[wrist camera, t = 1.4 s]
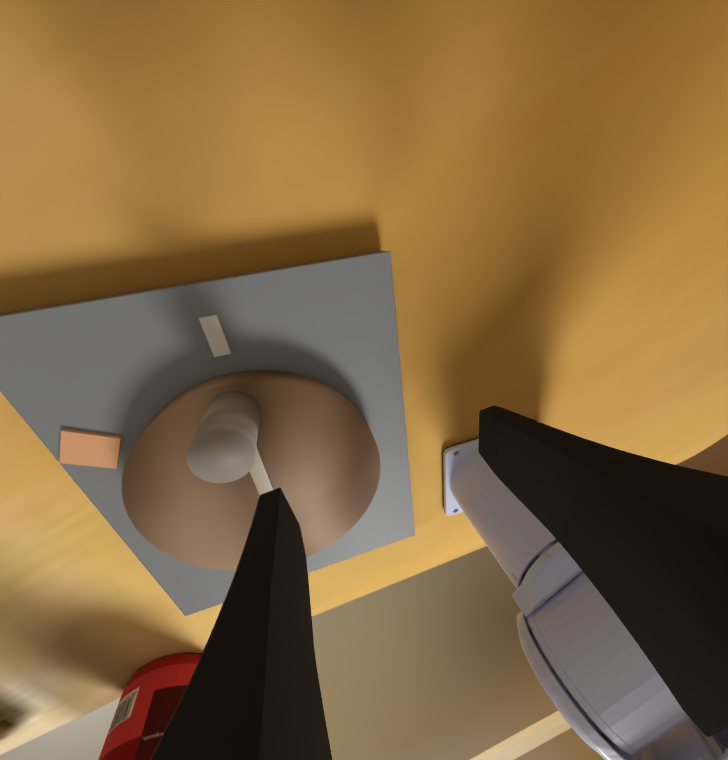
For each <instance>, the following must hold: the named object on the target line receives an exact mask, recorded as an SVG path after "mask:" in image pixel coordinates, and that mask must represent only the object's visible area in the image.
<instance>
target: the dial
mask: <svg viewBox="0 0 728 760" xmlns="http://www.w3.org/2000/svg"><path fill="white" fill-rule="evenodd" d="M380 468H381V467H380V455H379V451H378V447H377V444H376V441H375V439H374V437H373V434H372V432H371V430H370V428H369V426H368V424H367V422H366V420H365V419H364V417H363V416H362V414H361V412H360V411H359V410H358V409H357V408H356V406H355V405H354V404H353V403H352V402H351V401H350V400H349V399H348V398H346V397H345V396H344V395H343V394H342V393H340V392H339V391H337V390H336V389H334V388H332V387H331V386H329V385H327V384H325V383H323V382H321V381H318V380H316V379H313V378H310V377H307V376H304V375H301V374H296V373H290V372H285V371H273V370H254V371H243V372H237V373H231V374H227V375H223V376H220V377H216V378H213V379H210V380H207V381H205V382H203V383H200V384H198V385H196V386H193V387H192V388H190V389H188V390H187V391H185V392H183V393H181V394H180V395H178V396H177V397H176V398H174V399H173V400H172V401H170V402H169V403H168V404H167V405H165V406H164V407H163V408H162V409H161V410H160V411H159V413H158V414H157V415H156V416H155V417H154V418H153V419H152V421H151V422H150V423H149V425H148V426H147V427H146V429H145V430H144V431H143V433H142V434H141V435H140V437H139V438H138V440H137V441H136V443H135V444H134V446H133V447H132V449H131V451H130V453H129V455H128V458H127V460H126V462H125V466H124V470H123V474H122V497H123V502H124V506H125V509H126V511H127V514H128V516H129V518H130V520H131V521H132V523H133V525H134V526H135V528H136V529H137V530H138V531H139V532H140V534H141V535H142V536H143V537H144V538H145V539H146V540H147V541H149V542H150V543H151V544H152V545H153V546H155V547H156V548H157V549H159V550H161V551H162V552H164V553H166V554H167V555H169V556H171V557H174V558H176V559H178V560H180V561H183V562H186V563H189V564H192V565H195V566H199V567H204V568H209V569H216V570H224V571H236V569H237V566H238V563H239V560H240V557H241V554H242V552H243V549H244V546H245V543H246V540H247V536H248V533H249V530H250V527H251V524H252V520H253V517H254V513H255V510H256V506H257V503H258V499H259V497H260V495H261V494H264V493H266V492H269V491H272V490H274V489H277V488H279V487H281V489H282V491H283V493H284V495H285V497H286V499H287V501H288V503H289V505H290V507H291V509H292V511H293V513H294V515H295V517H296V519H297V521H298V522H299V524H300V528H301V533H302V538H303V543H304V548H305V554H306V557H308V556H310V555H312V554H315V553H317V552H319V551H321V550H322V549H324V548H326V547H327V546H329V545H331V544H332V543H334V542H335V541H337V540H338V539H339V538H341V537H342V536H343V535H344V534H345V533H347V532H348V531H349V530H350V529H351V528H352V527H353V526H354V525H355V524H356V523H357V522H358V521H359V520H360V518H361V517H362V516H363V514H364V513H365V512H366V510H367V509H368V507H369V505H370V503H371V502H372V500H373V497H374V495H375V493H376V490H377V487H378V483H379V479H380Z"/></svg>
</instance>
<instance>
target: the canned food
mask: <svg viewBox="0 0 728 760" xmlns="http://www.w3.org/2000/svg"><path fill="white" fill-rule="evenodd" d="M200 657H201V654H195V653H182V654H175V655H170V656H166V657H163V658H160V659H157V660H155V661H153V662H151V663H149V664H147V665H146V666H144V667H142V668H141V669H140V670H139V671H137V672H136V673H135V674H134V675H133V677H132V678H131V679H130V681H129V683H128V684H127V686H126V688H125V689H124V691H123V694H122V696H121V699H120V701H119V704H118V707H117V710H116V713H115V715H114V718H113V721H112V724H111V727H110V729H109V732H108V735H107V738H106V740H105V743H104V746H103V749H102V752H101V754H100V757H99V760H150V759H151V757H152V755H153V753H154V751H155V749H156V747H157V745H158V743H159V741H160V739H161V737H162V735H163V734H164V732H165V730H166V728H167V726H168V724H169V722H170V720H171V718H172V715H173V713H174V711H175V709H176V707H177V705H178V703H179V701H180V699H181V697H182V695H183V693H184V691H185V689H186V687H187V685H188V683H189V681H190V679H191V677H192V674H193V672H194V670H195V668H196V666H197V664H198V661H199V659H200Z"/></svg>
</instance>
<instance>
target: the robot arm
mask: <svg viewBox="0 0 728 760" xmlns="http://www.w3.org/2000/svg"><path fill="white" fill-rule="evenodd" d="M455 451H456V452H455ZM443 471H444V512H445V514H446V515H447V516H451V515H454V514H457V513H460V512H464V513H465V515H466V516H467V518H468V519H469V520H470V522H471V523H472V525H473V526H474V528H475V529H476V531H477V532H478V533H479V535H480V536H481V538H482V539H483V541H484V542H485V544H486V545H487V546H488V548H489V549H490V551H491V552H492V553H493V555H494V557H495V558H496V559H497V561H498V562H499V564H500V565H501V567H502V568H503V570H504V571H505V573H506V574H507V575H508V577H509V578H510V580H511V581H512V582H513V584H514V586H515V587H516V588H517V590H516V591H515V592H514V593H513V594H512V597H513V598H514V600H515V601H516V603H517V605H518V606H519V608H520V609H521V612H520V613H519V614H518V616H517V626H518V630H519V639H520V643H521V646H522V648H523V651H524V653H525V656H526V658H527V660H528V662H529V664H530V666H531V667H532V670H533V672H534V673H535V675H536V677H537V679H538V680H539V682H540V683H541V685H542V687H543V688H544V690H545V691H546V693H547V695H548V696H549V698H550V699H551V700H552V702H553V703H554V705H555V706H556V708H557V709H558V710H559V712H560V713H561V714H562V716H563V717H564V718H565V720H566V721H567V722H568V723H569V725H570V726H571V727H572V728H573V729H574V731H575V732H576V733H577V734H578V735H579V736H580V737H581V738H582V739H583V740H584V741H585V742H586V743H587V744H588V745H589V746H590V747H591V748H593V749H594V750H595V751H596V752H598V753H599V754H600V755H601V756H602V757H603V758H604V760H728V477H727V476H722V475H717V474H713V473H708V472H704V471H699V470H695V469H690V468H686V467H681V466H677V465H673V464H669V463H665V462H661V461H657V460H654V459H650V458H646V457H643V456H639V455H635V454H632V453H628V452H625V451H621V450H618V449H615V448H611V447H608V446H605V445H602V444H599V443H596V442H593V441H590V440H587V439H584V438H581V437H578V436H575V435H572V434H570V433H567V432H564V431H561V430H559V429H556V428H553V427H551V426H548V425H545V424H543V423H542V422H540V421H535V420H532V419H530V418H527V417H524V416H522V415H519V414H517V413H514V412H511V411H509V410H506V409H503V408H501V407H498V406H495V405H494V406H491V407H489V408H486V409H484V410H481V411H480V417H479V439H476V440H473V441H469V442H466V443H463V444H459V445H456V446H453V447H450V448H447V449H446V450H445V451H444V453H443ZM150 760H332V756H331V750H330V744H329V739H328V733H327V727H326V721H325V716H324V710H323V704H322V698H321V691H320V685H319V680H318V673H317V667H316V659H315V651H314V644H313V631H312V618H311V606H310V594H309V583H308V571H307V560H306V554H305V548H304V543H303V538H302V533H301V528H300V524H299V522H298V521H297V519H296V517H295V515H294V513H293V511H292V509H291V507H290V505H289V503H288V501H287V499H286V497H285V495H284V493H283V491H282V489H281V487H279V488H277V489H274V490H272V491H269V492H266V493H264V494H261V495H260V497H259V499H258V503H257V506H256V510H255V513H254V517H253V520H252V524H251V527H250V530H249V533H248V536H247V540H246V543H245V546H244V549H243V552H242V554H241V557H240V560H239V563H238V566H237V569H236V572H235V575H234V577H233V580H232V583H231V585H230V588H229V590H228V593H227V595H226V598H225V600H224V603H223V605H222V608H221V611H220V613H219V616H218V618H217V620H216V623H215V625H214V628H213V630H212V632H211V635H210V637H209V639H208V641H207V644H206V646H205V648H204V651H203V653H202V655H201V657H200V659H199V661H198V664H197V666H196V668H195V670H194V672H193V674H192V677H191V679H190V681H189V683H188V685H187V687H186V689H185V691H184V693H183V695H182V697H181V699H180V701H179V703H178V705H177V707H176V709H175V711H174V713H173V715H172V718H171V720H170V722H169V724H168V726H167V728H166V730H165V732H164V734H163V735H162V737H161V739H160V741H159V743H158V745H157V747H156V749H155V751H154V753H153V755H152V757H151V759H150Z"/></svg>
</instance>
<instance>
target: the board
mask: <svg viewBox="0 0 728 760" xmlns="http://www.w3.org/2000/svg"><path fill="white" fill-rule="evenodd" d="M254 370H273V371H285V372H290V373H296V374H301V375H304V376H307V377H310V378H313V379H316V380H318V381H321V382H323V383H325V384H327V385H329V386H331V387H332V388H334V389H336V390H337V391H339V392H340V393H342V394H343V395H344V396H345V397H346V398H348V399H349V400H350V401H351V402H352V403H353V404H354V405H355V406H356V408H357V409H358V410H359V411H360V412H361V414H362V416H363V417H364V419H365V420H366V422H367V424H368V426H369V428H370V430H371V432H372V434H373V437H374V439H375V441H376V444H377V447H378V451H379V455H380V467H381V468H380V479H379V483H378V487H377V490H376V493H375V495H374V497H373V500H372V502H371V503H370V505H369V507H368V509H367V510H366V512H365V513H364V514H363V516H362V517H361V518H360V520H359V521H358V522H357V523H356V524H355V525H354V526H353V527H352V528H351V529H350V530H349V531H348V532H347V533H345V534H344V535H343V536H342V537H341V538H339V539H338V540H337V541H335V542H334V543H332V544H331V545H329V546H327V547H326V548H324V549H322V550H321V551H319V552H317V553H315V554H312V555H310V556H308V557H306V560H307V571H308V573H309V572H312V571H315V570H317V569H320V568H323V567H326V566H329V565H332V564H334V563H337V562H340V561H343V560H346V559H349V558H351V557H354V556H357V555H360V554H363V553H366V552H368V551H371V550H374V549H377V548H380V547H383V546H385V545H388V544H391V543H394V542H397V541H400V540H402V539H405V538H408V537H411V536H414V535H415V529H414V517H413V506H412V494H411V483H410V471H409V460H408V448H407V437H406V425H405V414H404V402H403V391H402V379H401V368H400V356H399V345H398V333H397V322H396V310H395V299H394V287H393V276H392V264H391V253H390V251H379V252H373V253H367V254H361V255H355V256H349V257H343V258H337V259H331V260H325V261H319V262H313V263H307V264H301V265H295V266H289V267H283V268H277V269H271V270H265V271H259V272H253V273H247V274H241V275H235V276H229V277H223V278H217V279H211V280H205V281H199V282H193V283H187V284H181V285H175V286H169V287H163V288H157V289H151V290H144V291H138V292H132V293H126V294H120V295H114V296H108V297H102V298H96V299H90V300H84V301H78V302H72V303H66V304H60V305H54V306H48V307H42V308H36V309H30V310H24V311H18V312H12V313H6V314H0V391H1V392H2V393H3V395H4V396H5V397H6V398H7V400H8V401H9V402H10V403H11V404H12V406H13V407H14V408H15V409H16V410H17V412H18V413H19V414H20V415H21V417H22V418H23V419H24V420H25V421H26V423H27V424H28V425H29V426H30V428H31V429H32V430H33V431H34V432H35V434H36V435H37V436H38V437H39V438H40V440H41V441H42V442H43V443H44V445H45V446H46V447H47V448H48V449H49V451H50V452H51V453H52V454H53V456H54V457H55V458H56V459H57V460H58V462H59V463H60V464H61V465H62V466H63V468H64V469H65V470H66V471H67V473H68V474H69V475H70V476H71V477H72V479H73V480H74V481H75V482H76V484H77V485H78V486H79V487H80V488H81V490H82V491H83V492H84V493H85V494H86V496H87V497H88V498H89V499H90V501H91V502H92V503H93V504H94V505H95V507H96V508H97V509H98V510H99V511H100V513H101V514H102V515H103V516H104V518H105V519H106V520H107V521H108V522H109V524H110V525H111V526H112V527H113V529H114V530H115V531H116V532H117V533H118V535H119V536H120V537H121V538H122V539H123V541H124V542H125V543H126V544H127V546H128V547H129V548H130V549H131V550H132V552H133V553H134V554H135V555H136V557H137V558H138V559H139V560H140V561H141V563H142V564H143V565H144V566H145V567H146V569H147V570H148V571H149V572H150V574H151V575H152V576H153V577H154V578H155V580H156V581H157V582H158V583H159V585H160V586H161V587H162V588H163V589H164V591H165V592H166V593H167V594H168V595H169V597H170V598H171V599H172V600H173V602H174V603H175V604H176V605H177V606H178V608H179V609H180V610H181V611H182V613H183V614H184V615H185V616H187V615H190V614H193V613H196V612H199V611H201V610H204V609H207V608H210V607H213V606H216V605H218V604H221V603H224V600H225V598H226V595H227V593H228V590H229V588H230V585H231V583H232V580H233V577H234V575H235V572H236V571H224V570H216V569H209V568H204V567H199V566H195V565H192V564H189V563H186V562H183V561H180V560H178V559H176V558H174V557H171V556H169V555H167V554H166V553H164V552H162V551H161V550H159V549H157V548H156V547H155V546H153V545H152V544H151V543H150V542H149V541H147V540H146V539H145V538H144V537H143V536H142V535H141V534H140V532H139V531H138V530H137V529H136V528H135V526H134V525H133V523H132V521H131V520H130V518H129V516H128V514H127V511H126V509H125V506H124V502H123V497H122V474H123V470H124V466H125V462H126V460H127V458H128V455H129V453H130V451H131V449H132V447H133V446H134V444H135V443H136V441H137V440H138V438H139V437H140V435H141V434H142V433H143V431H144V430H145V429H146V427H147V426H148V425H149V423H150V422H151V421H152V419H153V418H154V417H155V416H156V415H157V414H158V413H159V411H160V410H161V409H162V408H163V407H164V406H165V405H167V404H168V403H169V402H170V401H172V400H173V399H174V398H176V397H177V396H178V395H180V394H181V393H183V392H185V391H187V390H188V389H190V388H192V387H193V386H196V385H198V384H200V383H203V382H205V381H207V380H210V379H213V378H216V377H220V376H223V375H227V374H231V373H237V372H243V371H254Z"/></svg>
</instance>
